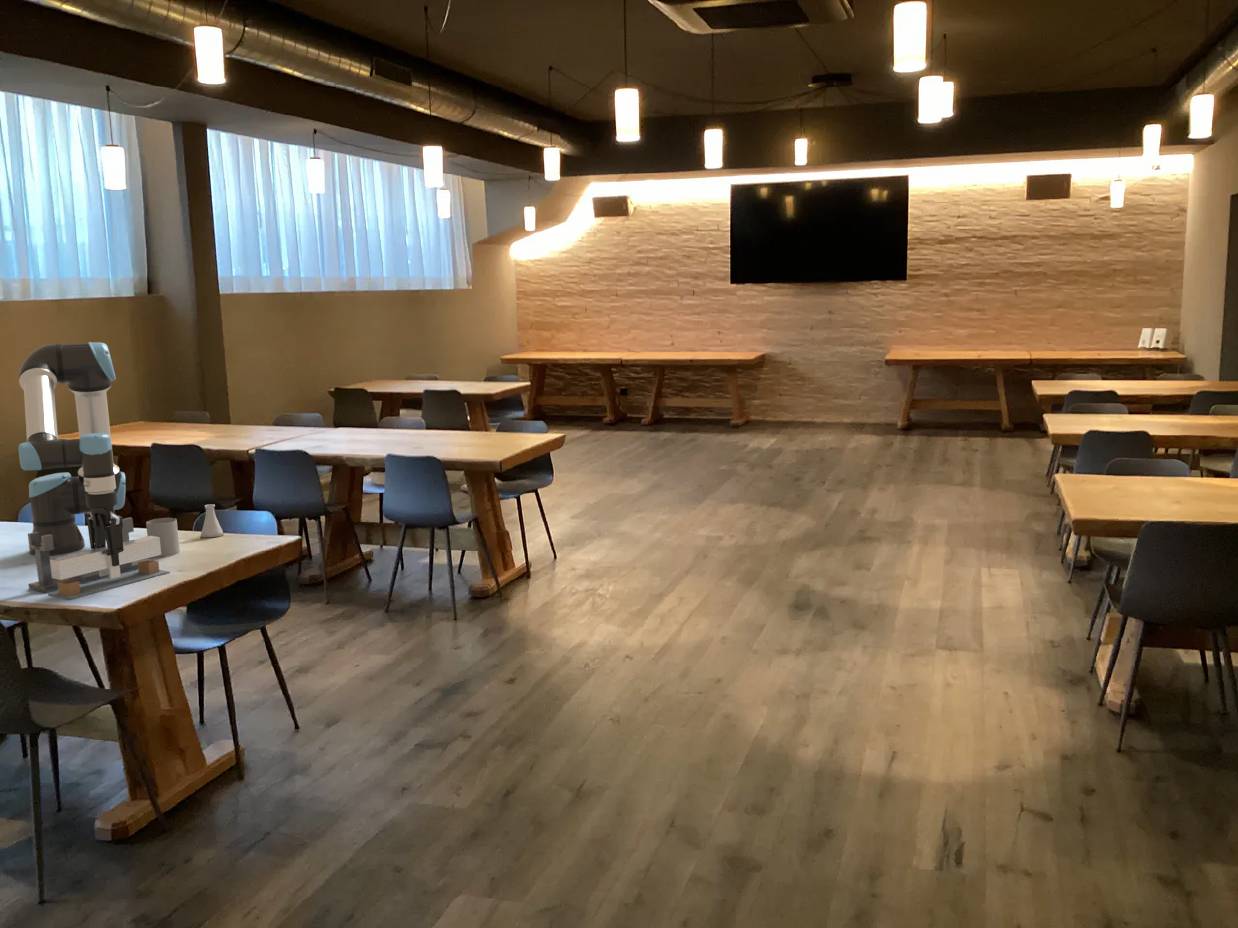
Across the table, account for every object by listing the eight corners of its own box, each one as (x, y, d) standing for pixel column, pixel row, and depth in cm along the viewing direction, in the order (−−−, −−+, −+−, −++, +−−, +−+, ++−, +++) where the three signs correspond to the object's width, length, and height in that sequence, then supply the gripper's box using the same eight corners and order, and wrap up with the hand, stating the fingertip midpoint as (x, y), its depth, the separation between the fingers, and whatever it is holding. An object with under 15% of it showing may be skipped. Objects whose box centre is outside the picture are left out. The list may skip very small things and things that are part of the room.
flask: (220, 537, 339) (218, 507, 337) (197, 538, 338) (194, 508, 337) (226, 532, 346) (224, 502, 345) (204, 533, 346) (201, 503, 344)
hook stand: (29, 589, 284) (22, 534, 282) (125, 564, 308) (120, 514, 305) (45, 593, 280) (38, 537, 278) (142, 568, 303) (136, 516, 301)
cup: (168, 557, 315) (165, 524, 314) (143, 556, 317) (140, 523, 315) (185, 550, 324) (182, 518, 322) (161, 549, 325) (157, 517, 324)
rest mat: (47, 594, 279) (46, 582, 278) (148, 568, 303) (146, 556, 302) (69, 599, 273) (68, 587, 273) (169, 572, 297) (168, 561, 297)
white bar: (51, 577, 276) (49, 559, 275) (152, 552, 300) (150, 535, 299) (60, 579, 274) (58, 561, 273) (161, 554, 298) (159, 537, 297)
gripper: (69, 491, 285) (78, 575, 289) (106, 496, 276) (115, 583, 280) (95, 486, 291) (104, 569, 295) (132, 491, 282) (141, 576, 286)
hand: (110, 576), depth 288 cm, fingers closed on white bar, 4 cm apart
